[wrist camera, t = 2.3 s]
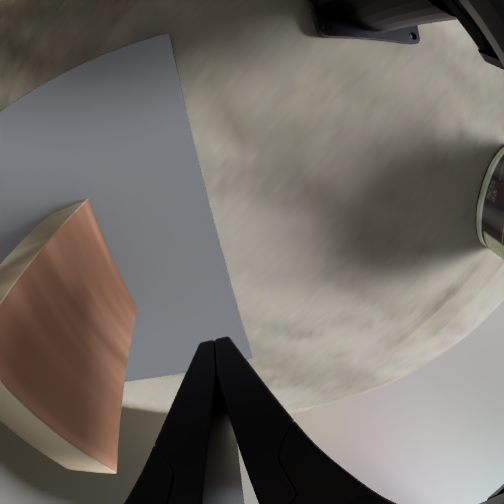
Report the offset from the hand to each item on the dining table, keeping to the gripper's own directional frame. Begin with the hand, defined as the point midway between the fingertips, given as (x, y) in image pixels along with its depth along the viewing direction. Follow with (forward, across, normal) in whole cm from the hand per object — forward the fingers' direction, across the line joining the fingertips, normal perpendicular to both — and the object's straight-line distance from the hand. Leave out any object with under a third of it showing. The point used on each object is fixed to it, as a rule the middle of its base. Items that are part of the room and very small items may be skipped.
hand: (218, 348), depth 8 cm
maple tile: (+8, +6, 0) cm, 10 cm away
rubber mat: (+8, +10, 0) cm, 12 cm away
